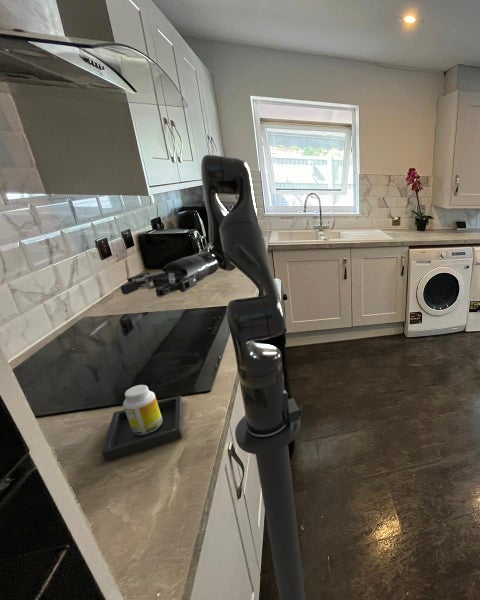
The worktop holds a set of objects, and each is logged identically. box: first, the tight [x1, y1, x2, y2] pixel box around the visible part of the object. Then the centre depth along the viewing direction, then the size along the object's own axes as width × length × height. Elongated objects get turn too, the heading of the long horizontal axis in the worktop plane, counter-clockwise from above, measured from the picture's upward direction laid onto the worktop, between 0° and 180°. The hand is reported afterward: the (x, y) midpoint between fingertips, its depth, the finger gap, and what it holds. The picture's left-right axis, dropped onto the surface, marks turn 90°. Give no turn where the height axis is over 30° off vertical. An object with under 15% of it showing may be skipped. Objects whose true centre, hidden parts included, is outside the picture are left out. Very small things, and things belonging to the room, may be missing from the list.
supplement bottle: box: [122, 384, 163, 435], centre depth 71 cm, size 6×6×10 cm
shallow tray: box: [101, 395, 184, 463], centre depth 73 cm, size 13×13×2 cm
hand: (140, 291), depth 75 cm, fingers open, 8 cm apart
